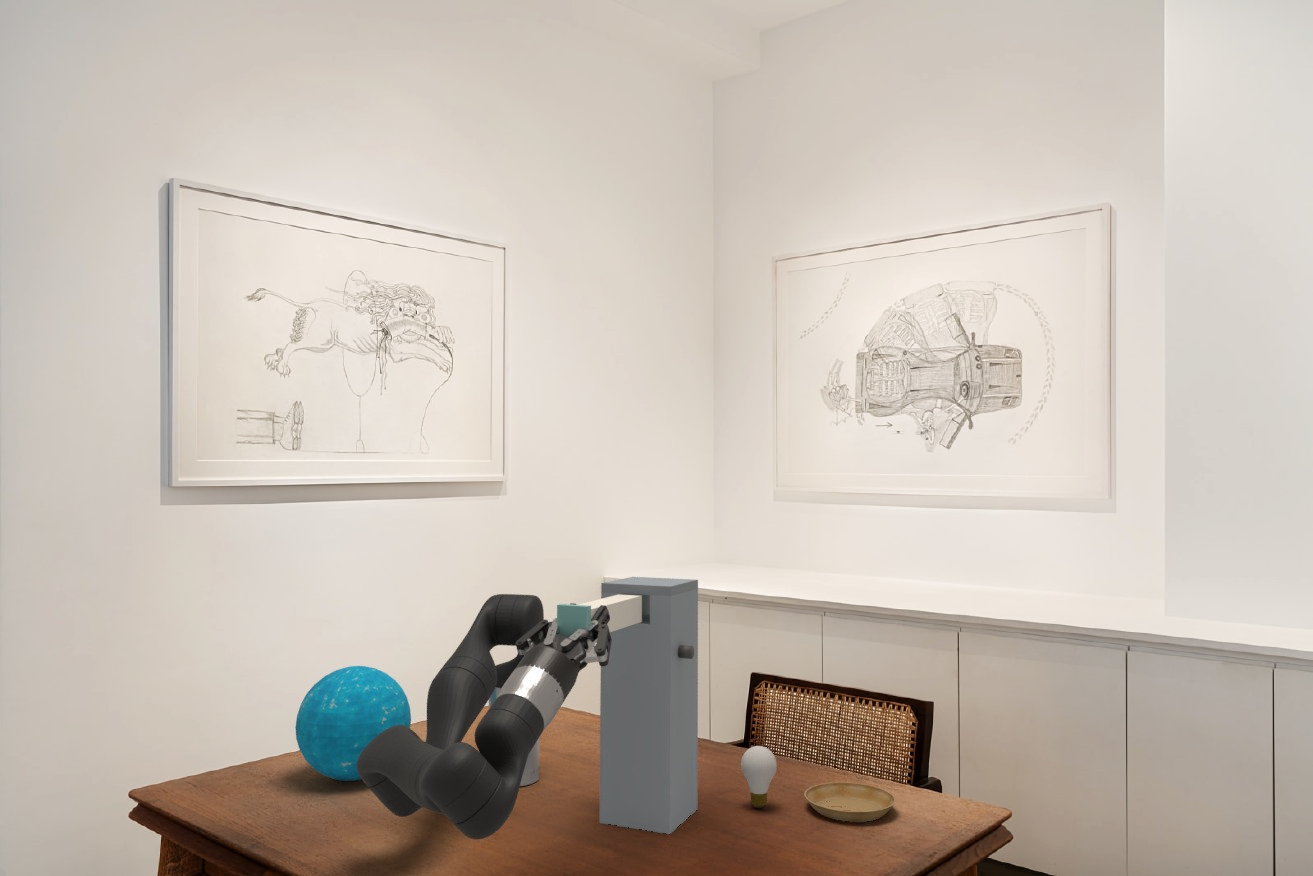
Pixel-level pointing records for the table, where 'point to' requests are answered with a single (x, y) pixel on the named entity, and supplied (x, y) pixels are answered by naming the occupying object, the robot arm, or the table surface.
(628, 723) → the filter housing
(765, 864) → the table surface
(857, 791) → the plant saucer
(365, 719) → the decorative sphere
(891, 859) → the table surface
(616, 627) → the block
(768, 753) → the light bulb
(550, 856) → the table surface
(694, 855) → the table surface
